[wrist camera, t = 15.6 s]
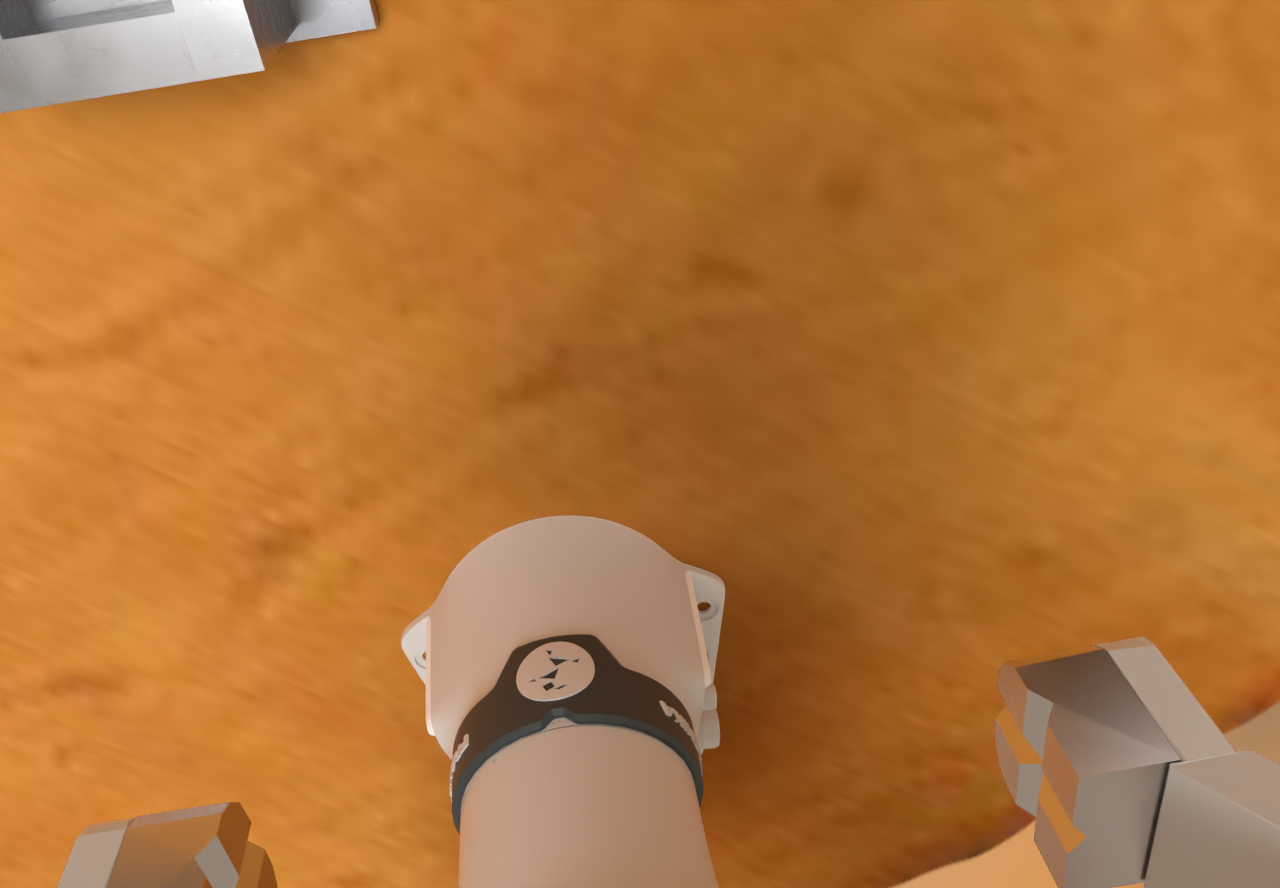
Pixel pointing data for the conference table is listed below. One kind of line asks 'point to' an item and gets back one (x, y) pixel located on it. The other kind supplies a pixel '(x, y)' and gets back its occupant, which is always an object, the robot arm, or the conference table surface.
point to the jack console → (151, 42)
